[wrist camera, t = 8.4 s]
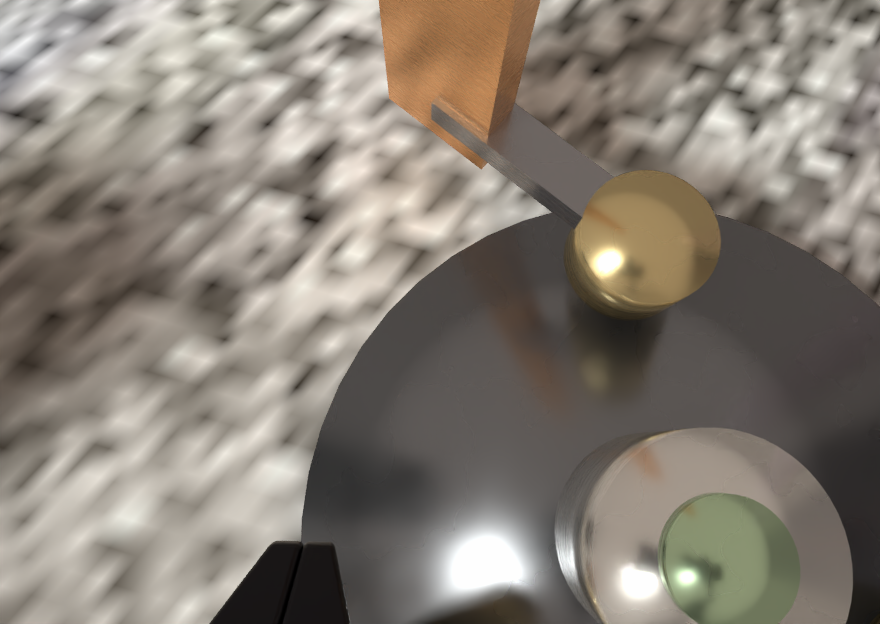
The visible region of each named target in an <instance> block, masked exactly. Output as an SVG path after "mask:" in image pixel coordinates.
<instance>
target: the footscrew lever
mask: <svg viewBox="0 0 880 624" xmlns="http://www.w3.org/2000/svg"><path fill="white" fill-rule="evenodd" d="M539 3H540V0H379V6H380V16H381V25H382V34H383V44H384V53H385V62H386V72H387V81H388V90H389V99H391V100H392V101H393V102H395V103H396V104H397V105H399V106H400V107H401V108H402V109H404V110H405V111H406V112H408V113H409V114H410V115H412V116H413V117H414V118H415V119H417V120H418V121H419V122H421V123H422V124H423V125H424V126H426V127H427V128H428V129H430V130H431V131H432V132H434V133H435V134H436V135H437V136H439V137H440V138H441V139H443V140H444V141H445V142H447V143H448V144H449V145H450V146H452V147H453V148H454V149H456V150H457V151H458V152H459V153H461V154H462V155H463V156H465V157H466V158H467V159H469V160H470V161H471V162H472V163H474V164H475V165H476V166H478V167H479V168H480V169H482V168H483V167H484V166H485V165H486V164H487V163H489V164H490V165H491V166H493V167H494V168H495V169H497V170H498V171H499V172H500V173H502V174H503V175H504V176H506V177H507V178H508V179H510V180H511V181H512V182H513V183H515V184H516V185H517V186H519V187H520V188H521V189H523V190H524V191H525V192H526V193H528V194H529V195H530V196H532V197H533V198H534V199H536V200H537V201H538V202H539V203H541V204H542V205H543V206H545V207H546V208H547V209H549V210H550V211H551V212H553V213H554V214H555V215H556V216H558V217H559V218H560V219H562V220H563V221H564V222H566V223H567V224H568V225H569V226H571V227H572V228H571V230H570V232H569V234H568V237H567V239H566V242H565V247H564V267H565V271H566V275H567V278H568V280H569V282H570V284H571V286H572V288H573V290H574V291H575V293H576V294H577V295H578V296H579V298H580V299H581V300H582V301H583V302H584V303H585V304H587V305H588V306H589V307H590V308H592V309H593V310H595V311H596V312H598V313H600V314H602V315H605V316H607V317H610V318H614V319H618V320H640V319H645V318H648V317H651V316H654V315H656V314H658V313H660V312H661V311H663V310H665V309H666V308H668V307H670V306H672V305H673V304H675V303H677V302H678V301H680V300H682V299H684V298H685V297H687V296H689V295H690V294H692V293H693V292H695V291H696V290H698V289H699V288H700V287H701V286H702V285H703V284H704V283H705V282H706V281H707V280H708V279H709V277H710V276H711V274H712V273H713V271H714V269H715V267H716V264H717V261H718V258H719V254H720V247H721V237H720V229H719V225H718V222H717V219H716V217H715V214H714V212H713V210H712V208H711V207H710V205H709V203H708V202H707V201H706V199H705V198H704V197H703V196H702V195H701V194H700V193H699V192H698V191H697V190H696V189H695V188H694V187H692V186H691V185H690V184H688V183H687V182H685V181H684V180H682V179H680V178H678V177H676V176H673V175H670V174H668V173H664V172H660V171H652V170H639V171H632V172H628V173H624V174H621V175H619V176H617V177H613V176H612V175H610V174H609V173H608V172H606V171H605V170H604V169H602V168H601V167H600V166H598V165H597V164H596V163H594V162H593V161H592V160H590V159H589V158H588V157H586V156H585V155H584V154H582V153H581V152H580V151H578V150H577V149H576V148H574V147H573V146H572V145H570V144H569V143H568V142H566V141H565V140H564V139H562V138H561V137H560V136H558V135H557V134H556V133H554V132H553V131H552V130H550V129H549V128H547V127H546V126H545V125H543V124H542V123H541V122H539V121H538V120H537V119H535V118H534V117H533V116H531V115H530V114H529V113H527V112H526V111H525V110H523V109H522V108H521V107H519V106H518V105H517V104H515V103H514V102H515V98H516V94H517V90H518V87H519V83H520V79H521V75H522V71H523V67H524V63H525V59H526V55H527V51H528V47H529V43H530V39H531V35H532V31H533V27H534V23H535V19H536V15H537V11H538V7H539Z"/></svg>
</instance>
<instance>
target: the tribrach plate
mask: <svg viewBox="0 0 880 624" xmlns="http://www.w3.org/2000/svg"><path fill="white" fill-rule="evenodd" d="M715 217H716V219H717V222H718V225H719V229H720V237H721V247H720V254H719V258H718V261H717V264H716V267H715V269H714V271H713V273H712V274H711V276H710V277H709V279H708V280H707V281H706V282H705V283H704V284H703V285H702V286H701V287H700V288H699V289H698V290H696V291H695V292H693V293H692V294H690V295H689V296H687V297H685V298H684V299H682V300H680V301H678V302H677V303H675V304H673V305H672V306H670V307H668V308H666V309H665V310H663V311H661V312H660V313H658V314H656V315H654V316H651V317H648V318H645V319H640V320H618V319H614V318H610V317H607V316H605V315H602V314H600V313H598V312H596V311H595V310H593V309H592V308H590V307H589V306H588V305H587V304H585V303H584V302H583V301H582V300H581V299H580V298H579V296H578V295H577V294H576V293H575V291H574V290H573V288H572V286H571V284H570V282H569V280H568V278H567V275H566V271H565V267H564V247H565V242H566V239H567V237H568V234H569V232H570V230H571V228H572V227H571V226H569V225H568V224H567V223H566V222H564V221H563V220H562V219H560V218H559V217H558V216H556V215H555V214H554V213H550V214H546V215H543V216H539V217H535V218H532V219H528V220H525V221H522V222H520V223H517V224H515V225H513V226H510V227H508V228H505V229H503V230H501V231H498V232H496V233H493V234H491V235H489V236H486V237H485V238H483V239H481V240H480V241H478V242H476V243H474V244H473V245H471V246H469V247H467V248H466V249H464V250H462V251H461V252H459V253H457V254H455V255H454V256H452V257H451V258H449V259H448V260H447V261H445V262H444V263H443V264H441V265H440V266H439V267H437V268H436V269H435V270H434V271H432V272H431V273H430V274H428V275H427V276H426V277H424V278H423V279H422V280H421V281H419V282H418V283H417V284H416V285H415V286H414V287H413V288H412V289H411V290H410V291H409V292H408V293H407V294H406V295H405V296H404V297H403V298H402V299H401V300H400V301H399V302H398V303H397V304H396V305H395V306H394V307H393V308H392V309H391V310H390V311H389V312H388V313H387V314H386V316H385V317H384V318H383V320H382V321H381V322H380V324H379V325H378V326H377V327H376V329H375V330H374V331H373V333H372V334H371V335H370V337H369V338H368V339H367V340H366V342H365V343H364V344H363V346H362V347H361V349H360V350H359V352H358V354H357V356H356V357H355V359H354V361H353V362H352V364H351V366H350V368H349V369H348V371H347V373H346V374H345V376H344V378H343V380H342V381H341V383H340V385H339V387H338V389H337V392H336V394H335V397H334V399H333V401H332V404H331V406H330V408H329V411H328V413H327V415H326V418H325V420H324V423H323V425H322V427H321V431H320V435H319V438H318V442H317V445H316V449H315V452H314V456H313V459H312V463H311V467H310V470H309V475H308V482H307V489H306V495H305V502H304V509H303V515H302V536H301V542H302V543H303V545H305V543H307V542H310V541H312V542H332V543H333V544H334V545H335V548H336V553H337V558H338V563H339V568H340V573H341V578H342V583H343V588H344V593H345V598H346V603H347V608H348V613H349V618H350V624H880V307H879V306H878V305H877V304H876V303H875V302H874V301H873V300H872V299H870V298H869V297H868V296H867V295H866V294H864V293H863V292H862V291H861V290H859V289H858V288H857V287H856V286H855V285H853V284H852V283H851V282H850V281H849V280H847V279H846V278H845V277H844V276H843V275H841V274H840V273H838V272H837V271H835V270H834V269H832V268H831V267H829V266H827V265H826V264H824V263H823V262H821V261H820V260H818V259H817V258H815V257H814V256H812V255H811V254H809V253H808V252H806V251H804V250H802V249H800V248H798V247H796V246H794V245H792V244H790V243H788V242H786V241H784V240H782V239H780V238H778V237H776V236H774V235H772V234H770V233H768V232H766V231H763V230H761V229H758V228H755V227H752V226H750V225H747V224H744V223H741V222H739V221H736V220H733V219H730V218H728V217H724V216H719V215H715Z"/></svg>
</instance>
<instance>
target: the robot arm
mask: <svg viewBox="0 0 880 624" xmlns="http://www.w3.org/2000/svg"><path fill="white" fill-rule="evenodd" d="M210 624H350V618H349V613H348V608H347V603H346V598H345V593H344V588H343V583H342V578H341V573H340V568H339V563H338V558H337V553H336V548H335V545H334V544H333V543H332V542H312V541H310V542H307V543H305V545H303V543H302V542H299V541H275V542H273V543H272V544H271V545H270V546H269V547H268V548H267V549H266V551H265V552H264V553H263V555H262V556H261V557H260V558H259V560H258V561H257V562H256V564H255V565H254V566H253V568H252V569H251V570H250V571H249V573H248V574H247V575H246V577H245V578H244V579H243V581H242V582H241V583H240V585H239V586H238V587H237V588H236V590H235V591H234V592H233V594H232V595H231V596H230V598H229V599H228V600H227V601H226V603H225V604H224V605H223V607H222V608H221V609H220V611H219V612H218V613H217V614H216V616H215V617H214V618H213V620H212V621H211V622H210Z"/></svg>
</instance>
